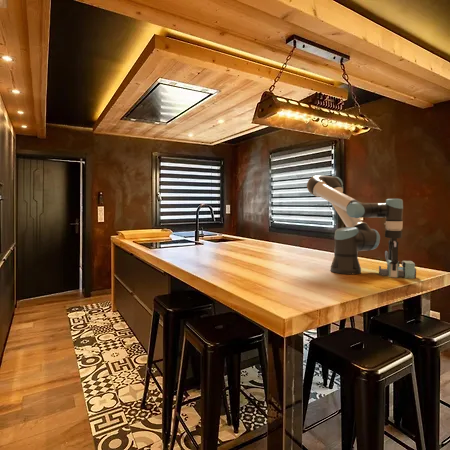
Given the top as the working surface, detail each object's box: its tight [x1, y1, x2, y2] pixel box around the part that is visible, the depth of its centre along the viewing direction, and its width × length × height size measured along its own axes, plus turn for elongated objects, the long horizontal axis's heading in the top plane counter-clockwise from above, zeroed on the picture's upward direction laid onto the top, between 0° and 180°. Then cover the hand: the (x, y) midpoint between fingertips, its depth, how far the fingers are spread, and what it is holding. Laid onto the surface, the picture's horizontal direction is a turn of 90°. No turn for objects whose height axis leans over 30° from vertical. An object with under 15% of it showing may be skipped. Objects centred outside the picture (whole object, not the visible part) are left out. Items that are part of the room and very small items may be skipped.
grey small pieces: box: [384, 250, 403, 270], centre depth 172 cm, size 10×11×15 cm
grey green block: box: [386, 260, 401, 279], centre depth 160 cm, size 5×8×7 cm, turn 159°
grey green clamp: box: [378, 260, 417, 280], centre depth 160 cm, size 16×8×7 cm, turn 69°
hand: (392, 275), depth 160 cm, fingers closed on grey green block, 8 cm apart
